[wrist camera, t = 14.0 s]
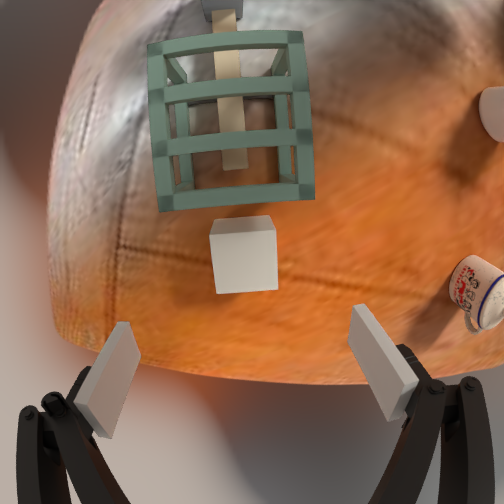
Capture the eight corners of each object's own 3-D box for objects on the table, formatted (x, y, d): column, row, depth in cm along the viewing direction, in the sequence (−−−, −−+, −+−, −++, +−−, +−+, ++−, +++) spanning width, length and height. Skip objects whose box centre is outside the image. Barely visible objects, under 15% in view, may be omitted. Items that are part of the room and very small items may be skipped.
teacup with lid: (452, 255, 33) (503, 289, 23) (486, 250, 34) (532, 278, 23) (437, 321, 38) (475, 363, 27) (470, 311, 38) (507, 345, 27)
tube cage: (175, 76, 24) (147, 44, 15) (282, 67, 25) (302, 31, 15) (184, 192, 29) (159, 212, 19) (290, 183, 29) (315, 199, 20)
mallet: (205, -9, 20) (194, -57, 11) (239, -12, 20) (240, -62, 11) (216, 170, 28) (205, 175, 18) (255, 167, 28) (263, 170, 18)
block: (214, 219, 30) (209, 235, 25) (269, 214, 30) (276, 229, 25) (220, 268, 32) (216, 294, 27) (271, 265, 33) (278, 289, 27)
